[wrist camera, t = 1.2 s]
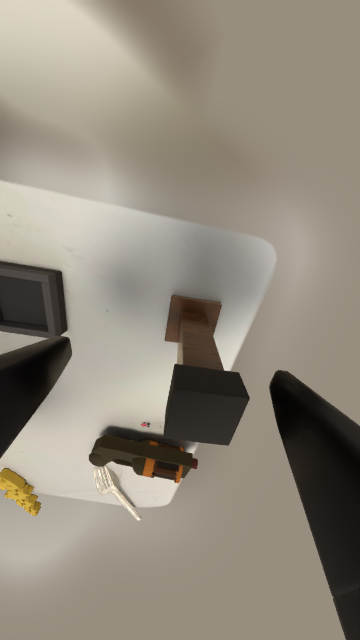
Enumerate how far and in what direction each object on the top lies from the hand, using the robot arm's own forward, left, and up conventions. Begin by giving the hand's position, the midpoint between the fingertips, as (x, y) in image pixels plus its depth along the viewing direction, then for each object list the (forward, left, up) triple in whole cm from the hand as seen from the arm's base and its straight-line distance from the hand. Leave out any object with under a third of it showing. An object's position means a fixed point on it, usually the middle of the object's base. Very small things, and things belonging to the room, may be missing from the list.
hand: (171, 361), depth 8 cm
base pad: (+4, +16, -13) cm, 21 cm away
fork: (-37, +26, -12) cm, 47 cm away
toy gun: (-29, +19, -13) cm, 37 cm away
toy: (-28, +48, -13) cm, 57 cm away
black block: (-5, 0, -2) cm, 5 cm away
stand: (-5, 0, -13) cm, 14 cm away
